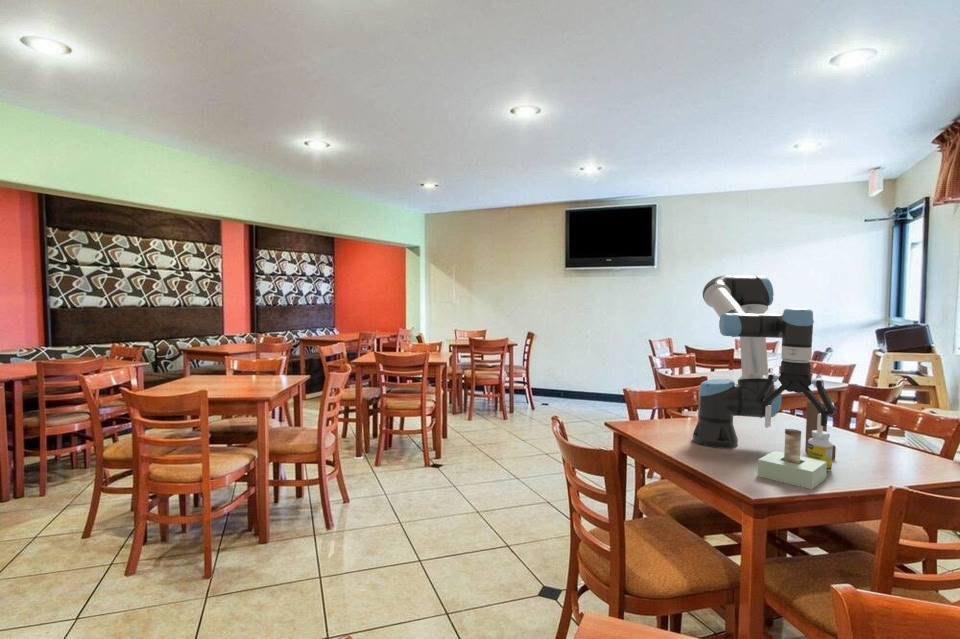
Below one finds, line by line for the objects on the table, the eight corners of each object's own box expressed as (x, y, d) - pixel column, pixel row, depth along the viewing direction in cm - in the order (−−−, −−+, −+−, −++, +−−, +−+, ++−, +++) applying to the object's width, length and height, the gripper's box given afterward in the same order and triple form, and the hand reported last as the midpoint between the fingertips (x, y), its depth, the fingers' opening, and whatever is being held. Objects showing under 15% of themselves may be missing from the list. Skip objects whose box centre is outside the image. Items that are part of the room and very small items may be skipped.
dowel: (781, 476, 148) (783, 430, 147) (785, 473, 151) (787, 428, 150) (797, 480, 145) (798, 433, 144) (801, 477, 147) (803, 430, 147)
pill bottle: (802, 465, 159) (803, 429, 159) (822, 465, 159) (824, 429, 159) (815, 471, 153) (816, 434, 153) (836, 472, 153) (838, 435, 152)
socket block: (757, 475, 148) (758, 459, 148) (773, 466, 158) (774, 450, 157) (812, 489, 138) (812, 471, 138) (826, 478, 147) (826, 461, 147)
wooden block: (835, 459, 166) (837, 406, 165) (822, 459, 166) (824, 405, 165) (817, 451, 175) (819, 400, 174) (804, 451, 175) (806, 400, 174)
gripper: (746, 357, 153) (743, 425, 154) (843, 366, 135) (839, 443, 136) (755, 355, 158) (752, 421, 159) (850, 364, 140) (846, 438, 141)
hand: (792, 431), depth 148 cm, fingers open, 13 cm apart
